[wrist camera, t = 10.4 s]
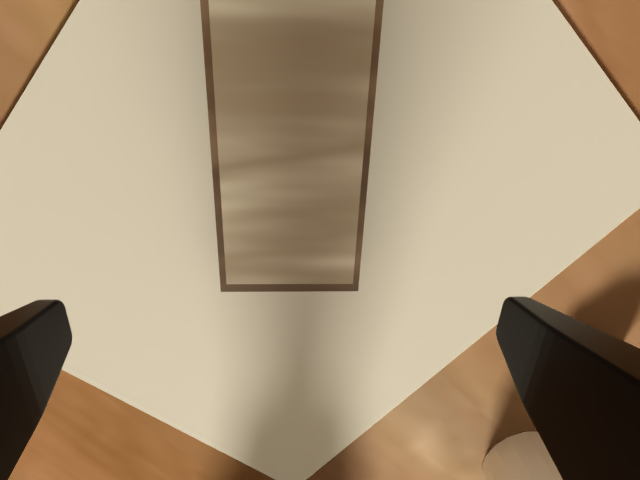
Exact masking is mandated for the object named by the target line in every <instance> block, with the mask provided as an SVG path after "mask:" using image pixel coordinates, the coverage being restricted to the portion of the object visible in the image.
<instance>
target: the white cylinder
mask: <svg viewBox="0 0 640 480" xmlns="http://www.w3.org/2000/svg"><path fill="white" fill-rule="evenodd" d="M482 469H483V473H484V476H485V479H486V480H563V479H562V477H561V475H560V473H559V472H558V470H557V468H556V466H555V464H554V462H553V460H552V458H551V456H550V454H549V453H548V451H547V449H546V447H545V445H544V443H543V441H542V439H541V437H540V435H539V433H538V432H537V431H530V432H522V433H519V434H516V435H513V436H509V437H507V438H506V439H504V440H503V441H501V442H499V443H498V444H496V445H495V446H494V447H493V448H492V449H491V450H490V451H489V453H488V454H487V455H486V456H485V459H484V462H483V466H482Z"/></svg>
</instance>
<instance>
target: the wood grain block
mask: <svg viewBox="0 0 640 480" xmlns="http://www.w3.org/2000/svg"><path fill="white" fill-rule="evenodd" d="M383 4H384V0H200V7H201V21H202V35H203V49H204V63H205V78H206V92H207V106H208V120H209V134H210V148H211V162H212V176H213V190H214V204H215V219H216V233H217V247H218V261H219V275H220V289H221V292H309V291H358V287H359V276H360V265H361V253H362V242H363V231H364V219H365V208H366V197H367V185H368V174H369V163H370V151H371V140H372V129H373V117H374V106H375V95H376V83H377V72H378V61H379V49H380V38H381V27H382V16H383Z"/></svg>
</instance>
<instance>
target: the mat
mask: <svg viewBox="0 0 640 480" xmlns="http://www.w3.org/2000/svg"><path fill="white" fill-rule="evenodd" d="M639 208H640V121H639V120H638V119H637V117H636V116H635V114H634V113H633V112H632V110H631V109H630V107H629V106H628V105H627V103H626V102H625V101H624V99H623V98H622V96H621V95H620V94H619V92H618V91H617V89H616V88H615V87H614V85H613V84H612V83H611V81H610V80H609V78H608V77H607V76H606V74H605V73H604V71H603V70H602V69H601V67H600V66H599V65H598V63H597V62H596V60H595V59H594V58H593V56H592V55H591V54H590V52H589V51H588V49H587V48H586V47H585V45H584V44H583V42H582V41H581V40H580V38H579V37H578V36H577V34H576V33H575V31H574V30H573V29H572V27H571V26H570V24H569V23H568V22H567V20H566V19H565V18H564V16H563V15H562V13H561V12H560V11H559V9H558V8H557V6H556V5H555V4H554V2H553V1H552V0H384V4H383V16H382V27H381V38H380V49H379V61H378V72H377V83H376V95H375V106H374V117H373V129H372V140H371V151H370V163H369V174H368V185H367V197H366V208H365V219H364V231H363V242H362V253H361V265H360V276H359V287H358V291H309V292H221V289H220V275H219V261H218V247H217V233H216V219H215V204H214V190H213V176H212V162H211V148H210V134H209V120H208V106H207V92H206V78H205V63H204V49H203V35H202V21H201V7H200V0H80V1H79V2H78V4H77V5H76V7H75V9H74V10H73V12H72V14H71V15H70V17H69V19H68V20H67V22H66V23H65V25H64V27H63V28H62V30H61V32H60V33H59V35H58V37H57V38H56V40H55V42H54V43H53V45H52V46H51V48H50V50H49V51H48V53H47V55H46V56H45V58H44V60H43V61H42V63H41V64H40V66H39V68H38V69H37V71H36V73H35V74H34V76H33V78H32V79H31V81H30V82H29V84H28V86H27V87H26V89H25V91H24V92H23V94H22V96H21V97H20V99H19V101H18V102H17V104H16V105H15V107H14V109H13V110H12V112H11V114H10V115H9V117H8V119H7V120H6V122H5V123H4V125H3V127H2V128H1V130H0V316H2V315H4V314H7V313H9V312H11V311H13V310H16V309H18V308H20V307H22V306H25V305H27V304H29V303H31V302H34V301H36V300H43V299H57V300H60V301H62V302H63V304H64V305H65V308H66V312H67V316H68V320H69V324H70V327H71V331H72V344H71V347H70V350H69V352H68V355H67V357H66V359H65V362H64V364H63V367H62V370H64V371H66V372H68V373H70V374H72V375H74V376H76V377H78V378H79V379H81V380H83V381H85V382H87V383H89V384H91V385H93V386H95V387H97V388H99V389H101V390H103V391H105V392H107V393H109V394H110V395H112V396H114V397H116V398H118V399H120V400H122V401H124V402H126V403H128V404H130V405H132V406H134V407H136V408H138V409H140V410H141V411H143V412H145V413H147V414H149V415H151V416H153V417H155V418H157V419H159V420H161V421H163V422H165V423H167V424H169V425H171V426H172V427H174V428H176V429H178V430H180V431H182V432H184V433H186V434H188V435H190V436H192V437H194V438H196V439H198V440H200V441H201V442H203V443H205V444H207V445H209V446H211V447H213V448H215V449H217V450H219V451H221V452H223V453H225V454H227V455H229V456H231V457H232V458H234V459H236V460H238V461H240V462H242V463H244V464H246V465H248V466H250V467H252V468H254V469H256V470H258V471H260V472H262V473H263V474H265V475H267V476H269V477H271V478H273V479H275V480H306V479H308V478H309V477H310V476H311V475H313V474H314V473H315V472H316V471H317V470H319V469H320V468H321V467H322V466H324V465H325V464H326V463H327V462H328V461H330V460H331V459H332V458H333V457H335V456H336V455H337V454H338V453H340V452H341V451H342V450H343V449H344V448H346V447H347V446H348V445H349V444H351V443H352V442H353V441H354V440H355V439H357V438H358V437H359V436H360V435H362V434H363V433H364V432H365V431H367V430H368V429H369V428H370V427H371V426H373V425H374V424H375V423H376V422H378V421H379V420H380V419H381V418H382V417H384V416H385V415H386V414H387V413H389V412H390V411H391V410H392V409H394V408H395V407H396V406H397V405H398V404H400V403H401V402H402V401H403V400H405V399H406V398H407V397H408V396H409V395H411V394H412V393H413V392H414V391H416V390H417V389H418V388H419V387H421V386H422V385H423V384H424V383H425V382H427V381H428V380H429V379H430V378H432V377H433V376H434V375H435V374H436V373H438V372H439V371H440V370H441V369H443V368H444V367H445V366H446V365H448V364H449V363H450V362H451V361H452V360H454V359H455V358H456V357H457V356H459V355H460V354H461V353H462V352H463V351H465V350H466V349H467V348H468V347H470V346H471V345H472V344H473V343H475V342H476V341H477V340H478V339H479V338H481V337H482V336H483V335H484V334H486V333H487V332H488V331H489V330H490V329H492V328H493V327H494V326H495V325H497V324H498V320H499V317H500V313H501V309H502V305H503V302H504V300H505V299H506V298H507V297H515V296H524V297H529V298H530V297H531V296H532V295H533V294H535V293H536V292H537V291H538V290H540V289H541V288H542V287H543V286H544V285H546V284H547V283H548V282H549V281H551V280H552V279H553V278H554V277H556V276H557V275H558V274H559V273H560V272H562V271H563V270H564V269H565V268H567V267H568V266H569V265H570V264H571V263H573V262H574V261H575V260H576V259H578V258H579V257H580V256H581V255H583V254H584V253H585V252H586V251H587V250H589V249H590V248H591V247H592V246H594V245H595V244H596V243H597V242H598V241H600V240H601V239H602V238H603V237H605V236H606V235H607V234H608V233H610V232H611V231H612V230H613V229H614V228H616V227H617V226H618V225H619V224H621V223H622V222H623V221H624V220H625V219H627V218H628V217H629V216H630V215H632V214H633V213H634V212H635V211H637V210H638V209H639Z"/></svg>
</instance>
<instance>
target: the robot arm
mask: <svg viewBox="0 0 640 480" xmlns="http://www.w3.org/2000/svg"><path fill="white" fill-rule="evenodd" d="M496 336H497V340H498V343H499V345H500V348H501V350H502V353H503V355H504V358H505V360H506V363H507V365H508V368H509V370H510V373H511V376H512V378H513V381H514V383H515V386H516V388H517V391H518V393H519V395H520V398H521V400H522V402H523V404H524V406H525V408H526V410H527V412H528V414H529V416H530V418H531V420H532V422H533V424H534V426H535V428H536V430H537V432H538V433H539V435H540V437H541V439H542V441H543V443H544V445H545V447H546V449H547V451H548V453H549V454H550V456H551V458H552V460H553V462H554V464H555V466H556V468H557V470H558V472H559V473H560V475H561V477H562V479H563V480H640V349H639V348H637V347H635V346H633V345H631V344H628V343H626V342H624V341H622V340H620V339H618V338H615V337H613V336H611V335H609V334H607V333H605V332H602V331H600V330H598V329H596V328H594V327H591V326H589V325H587V324H585V323H583V322H581V321H578V320H576V319H574V318H572V317H570V316H568V315H565V314H563V313H561V312H559V311H557V310H555V309H552V308H550V307H548V306H546V305H544V304H542V303H539V302H537V301H535V300H533V299H531V298H529V297H524V296H515V297H507V298H506V299H505V300H504V302H503V305H502V309H501V313H500V317H499V320H498V324H497V329H496ZM71 344H72V331H71V327H70V324H69V320H68V316H67V312H66V308H65V305H64V304H63V302H62V301H60V300H57V299H43V300H36V301H34V302H31V303H29V304H27V305H25V306H22V307H20V308H18V309H16V310H13V311H11V312H9V313H7V314H4V315H2V316H0V480H8V478H9V476H10V475H11V473H12V471H13V469H14V467H15V465H16V463H17V462H18V460H19V458H20V456H21V454H22V452H23V451H24V449H25V447H26V445H27V443H28V441H29V439H30V438H31V436H32V434H33V432H34V430H35V428H36V426H37V425H38V423H39V421H40V419H41V417H42V415H43V412H44V410H45V408H46V406H47V403H48V401H49V399H50V396H51V394H52V391H53V389H54V386H55V384H56V381H57V379H58V377H59V374H60V372H61V369H62V367H63V364H64V362H65V359H66V357H67V355H68V352H69V350H70V347H71Z"/></svg>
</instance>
